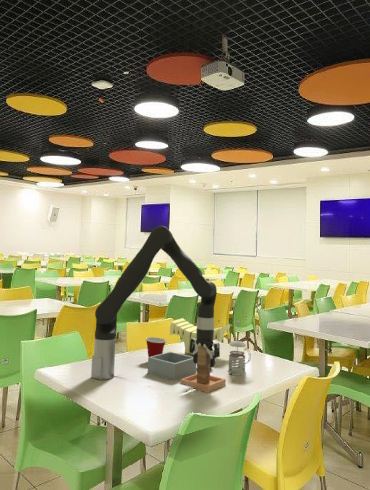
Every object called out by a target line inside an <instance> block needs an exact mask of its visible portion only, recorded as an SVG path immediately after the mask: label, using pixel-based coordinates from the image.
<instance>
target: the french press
mask: <svg viewBox="0 0 370 490" xmlns="http://www.w3.org/2000/svg"><path fill="white" fill-rule="evenodd" d="M236 324H237V326H239V324H241V321H240V320H236ZM228 344H229V346H231V347H234V348H235V347H236V350H231V351H229V353H230V354H229V355H228V370H226V372H227V373H228V375H230V374H232V375H231V376H235V375H243V376H246V375H247V374H246V373H247V372H246V364H249V362H250V361H251V357H252V354H251V352H250V349H249V348H246V345H247V344H246V343H245V342H244V341H239V338H237V340H233V341H231V342H229V343H228ZM243 347H245V348H244V350H243V351H240V350H238V349H239V348H243ZM246 351H247V353H248V358H249V359H248V361H247V362H246V355H245V352H246ZM245 374H246V375H245Z"/></svg>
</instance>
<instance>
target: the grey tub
mask: <svg viewBox="0 0 370 490" xmlns="http://www.w3.org/2000/svg"><path fill="white" fill-rule="evenodd" d="M147 360H148V361H147V374H151V375H154V376H158V377H162V378H165V379H168V380H172V381H176V380H181V379H183V378H186V377H188V376H191V375H194V374H197V363H196V364H195V363H194V362H193V355H188V354H182V353H179V352H174V351H167V352H163V353H162V354H159V355H155V356H152V357H148V359H147Z"/></svg>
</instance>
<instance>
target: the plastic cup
mask: <svg viewBox="0 0 370 490" xmlns="http://www.w3.org/2000/svg"><path fill="white" fill-rule="evenodd" d="M145 341H146V345H147V346H146V347H147V348H146V349H147V355H148V357H152V356H155V355H159V354H163V353H164V348H165V345H166V343H167V340H166V339H165V338H161V337H153V336H151V337H150V336H149V337H145Z"/></svg>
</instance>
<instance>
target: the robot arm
mask: <svg viewBox="0 0 370 490" xmlns="http://www.w3.org/2000/svg"><path fill="white" fill-rule="evenodd" d="M161 250H162V251H163V252H164V253H166V254H167V256H169V258H171V260H172V261H173V263H174V264H175V265H176V266H177V268H178V269H179V271H180V272H181V274H182V275H183V276H184V277H185V278H186V279H187V281H188V282H189V283H190V285H191V286H192V288H193V290H194V292H195V293H196V295H198V297H200V303H199V304H198V306H197V318H196V319H197V320H196V326H197V332H196V337H197V340H196V339H195V338H194V339H191V340H190V352H191V353H193V355H192V357H193V362H194V363H195V364H196V365H197V361H198V346H199V347H200V346H204V348H205V347H206V351H207V353H208V354H209V355H210V357H211V359H210V367H211V368H214V367H215V366H216V359H217V358H219V357H220V355H221V353H220V350H221V349H220V342H214V340H213V338H214V329H215V303H216V299H217V286H216V284H215V283H214V282H213V281H211V280H208V281H207V280H206V279H205V277H204V275H203V272H202V270H201V269H200V267H198V265H197V264H196V263H195V262H194V261H193V260H192V258H190V257H189V256H188V254H186V253H185V252H184V251H183V249H182V248H181V247H180V245H179V244H178V242H177V241H176V239H175V237H174V235H173V233H172V232H171V230H170V229H169V228H168V227H166V226H164V225H158V226H155V228H153V229H152V230H151V232H150V233H149V235H148V236H147V238H146V240H145V242H144V244H143V245H142V246H141V248H140V250H139V251H138V252H137V254H135V256H134V258H133V259H132V260H131V261H130V263H129V264H128V265H127V267H126V268H125V269H124V271H123V272H122V274H121V275H120V276H119V278H118V280H117V281H116V283H115V284H114V287H113V289H112V290H111V292H110V293H109V294H108V295H107V297H106V298H105V299H104V300H103V301H102V302H101V303H100V304H99V305H97V307H96V309H95V313H94V315H95V320H96V322H95V330H94V346H93V355H92V356H91V374H90V377H91V378H94V379H96V380H99V381H102V380H110V379H113V378H114V376H115V359H116V340H117V339H116V336H117V335H116V333H117V326H118V325H117V321H118V313H119V311H120V309H121V308H122V306H123V305H124V303H125V302H126V300H128V299H129V298H130V296H131V295H132V294H133V293H134V292H135V291H136V290H137V288H138V287H139V286H140V285H141V283H142V282H143V281H144V279H145V278H146V276H147V275H148V272H149V270H150V268H151V265H152V263H153V261H154V259H155V257H156V256H157V254H158V253H159V251H161ZM195 344H197V347H196V348H195ZM213 349H214V350H213ZM210 350H211V351H210Z"/></svg>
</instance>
